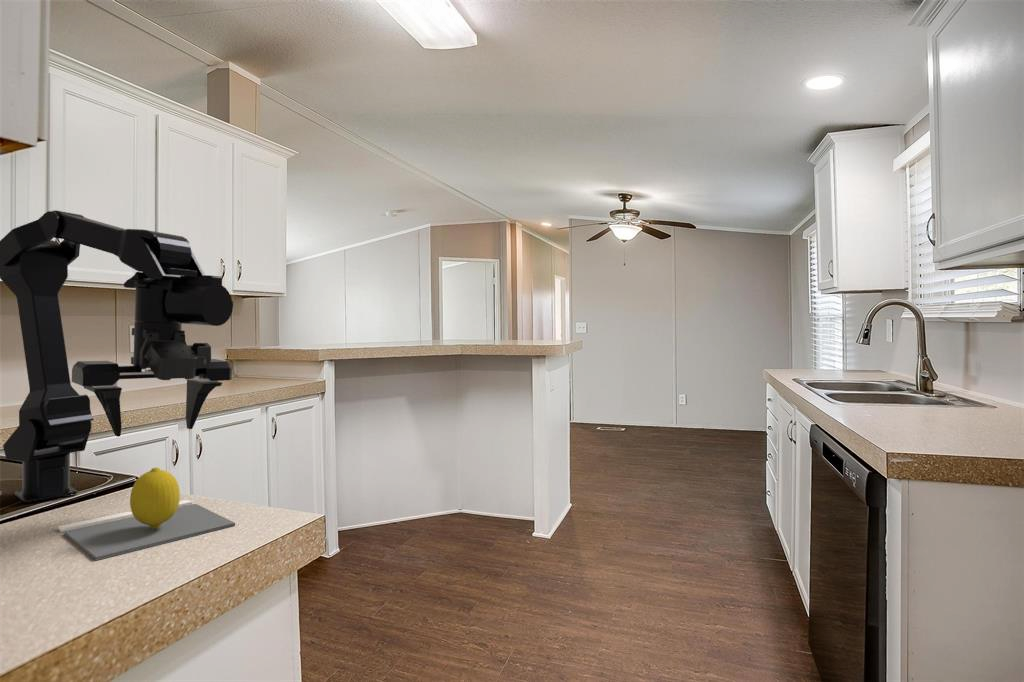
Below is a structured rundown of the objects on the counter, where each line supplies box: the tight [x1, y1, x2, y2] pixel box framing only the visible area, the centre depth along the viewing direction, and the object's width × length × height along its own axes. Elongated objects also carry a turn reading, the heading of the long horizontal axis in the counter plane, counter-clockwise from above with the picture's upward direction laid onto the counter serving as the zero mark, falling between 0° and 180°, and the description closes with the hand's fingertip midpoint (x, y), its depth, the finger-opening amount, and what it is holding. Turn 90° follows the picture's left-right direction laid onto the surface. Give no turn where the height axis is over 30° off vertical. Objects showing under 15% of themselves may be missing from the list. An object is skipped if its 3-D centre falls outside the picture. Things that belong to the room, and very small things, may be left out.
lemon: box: [129, 467, 181, 529], centre depth 77 cm, size 6×6×8 cm
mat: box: [63, 503, 236, 561], centre depth 78 cm, size 12×16×1 cm
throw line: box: [57, 499, 193, 533], centre depth 83 cm, size 2×16×1 cm, turn 141°
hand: (155, 432), depth 84 cm, fingers open, 9 cm apart
